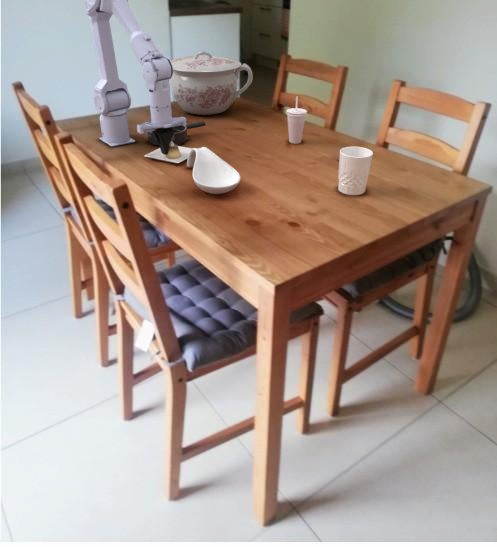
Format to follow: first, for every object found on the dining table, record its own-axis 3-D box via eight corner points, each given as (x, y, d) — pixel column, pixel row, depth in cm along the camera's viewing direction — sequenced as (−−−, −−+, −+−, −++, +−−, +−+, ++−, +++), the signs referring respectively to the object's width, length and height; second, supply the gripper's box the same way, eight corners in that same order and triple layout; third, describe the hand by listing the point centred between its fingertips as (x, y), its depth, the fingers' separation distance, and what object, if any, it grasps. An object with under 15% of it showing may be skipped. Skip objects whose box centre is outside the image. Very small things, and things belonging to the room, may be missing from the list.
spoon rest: (248, 195, 122) (248, 167, 118) (203, 203, 118) (201, 174, 114) (213, 163, 140) (212, 138, 136) (173, 169, 136) (171, 144, 132)
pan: (141, 139, 158) (140, 127, 155) (175, 132, 164) (174, 120, 162) (160, 149, 149) (159, 136, 147) (194, 142, 156) (194, 129, 154)
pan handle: (182, 129, 159) (181, 124, 158) (202, 125, 163) (202, 120, 162) (184, 130, 158) (184, 125, 157) (205, 126, 162) (205, 121, 161)
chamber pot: (153, 112, 184) (147, 52, 172) (200, 98, 203) (197, 43, 191) (212, 125, 170) (210, 61, 159) (256, 109, 189) (257, 50, 178)
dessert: (167, 147, 151) (166, 131, 149) (201, 153, 147) (200, 137, 144) (144, 159, 142) (142, 143, 140) (178, 166, 138) (177, 150, 135)
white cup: (360, 199, 120) (366, 159, 115) (330, 192, 124) (334, 153, 118) (371, 188, 126) (377, 150, 121) (343, 181, 129) (347, 144, 124)
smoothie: (282, 143, 155) (284, 97, 148) (288, 137, 160) (290, 92, 153) (301, 146, 153) (304, 99, 146) (307, 140, 158) (310, 94, 151)
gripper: (143, 112, 129) (148, 162, 136) (190, 104, 136) (193, 152, 143) (131, 107, 133) (137, 155, 141) (177, 99, 141) (181, 146, 148)
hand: (164, 153), depth 142 cm, fingers closed
